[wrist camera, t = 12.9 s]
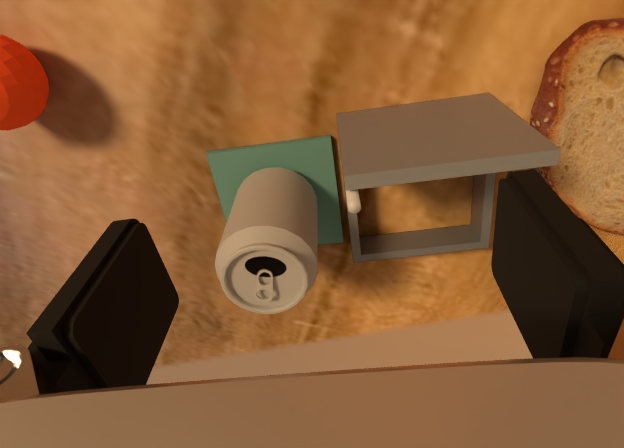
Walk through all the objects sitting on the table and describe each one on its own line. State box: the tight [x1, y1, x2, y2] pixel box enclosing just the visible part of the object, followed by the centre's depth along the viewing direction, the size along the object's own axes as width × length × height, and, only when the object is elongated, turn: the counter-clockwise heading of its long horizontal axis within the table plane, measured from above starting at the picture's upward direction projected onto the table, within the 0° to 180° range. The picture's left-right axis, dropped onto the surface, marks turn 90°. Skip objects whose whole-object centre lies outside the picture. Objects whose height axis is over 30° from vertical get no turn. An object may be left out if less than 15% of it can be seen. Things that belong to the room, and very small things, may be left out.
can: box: [215, 167, 318, 314], centre depth 34 cm, size 8×8×12 cm
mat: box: [206, 135, 344, 245], centre depth 40 cm, size 11×11×1 cm
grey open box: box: [336, 93, 561, 263], centre depth 33 cm, size 13×14×13 cm
